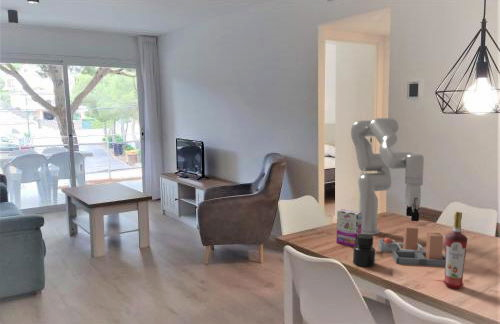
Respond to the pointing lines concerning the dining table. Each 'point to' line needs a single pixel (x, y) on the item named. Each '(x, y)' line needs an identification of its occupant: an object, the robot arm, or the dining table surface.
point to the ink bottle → (364, 251)
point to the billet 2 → (434, 246)
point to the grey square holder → (387, 246)
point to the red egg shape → (387, 240)
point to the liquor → (455, 254)
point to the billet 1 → (410, 237)
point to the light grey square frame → (410, 250)
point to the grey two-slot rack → (416, 258)
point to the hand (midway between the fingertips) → (412, 218)
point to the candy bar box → (348, 227)
